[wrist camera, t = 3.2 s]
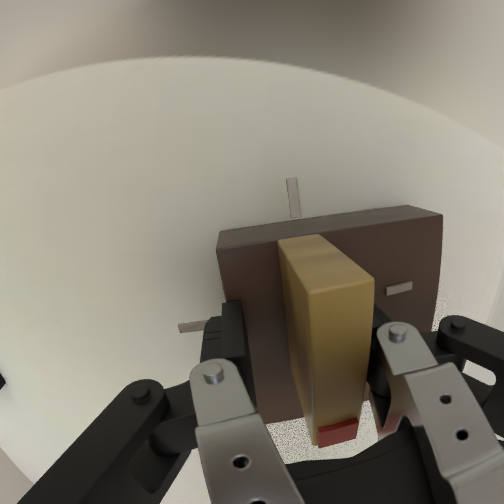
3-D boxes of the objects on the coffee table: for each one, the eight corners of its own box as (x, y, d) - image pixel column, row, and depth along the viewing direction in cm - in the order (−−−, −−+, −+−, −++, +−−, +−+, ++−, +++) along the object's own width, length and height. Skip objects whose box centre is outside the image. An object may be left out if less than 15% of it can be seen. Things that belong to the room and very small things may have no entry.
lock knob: (276, 239, 10) (310, 296, 5) (319, 232, 10) (381, 281, 5) (290, 368, 12) (313, 452, 7) (324, 361, 12) (359, 440, 7)
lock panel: (167, 194, 12) (147, 202, 9) (406, 165, 12) (443, 167, 9) (217, 394, 16) (216, 432, 13) (397, 355, 16) (420, 383, 13)
